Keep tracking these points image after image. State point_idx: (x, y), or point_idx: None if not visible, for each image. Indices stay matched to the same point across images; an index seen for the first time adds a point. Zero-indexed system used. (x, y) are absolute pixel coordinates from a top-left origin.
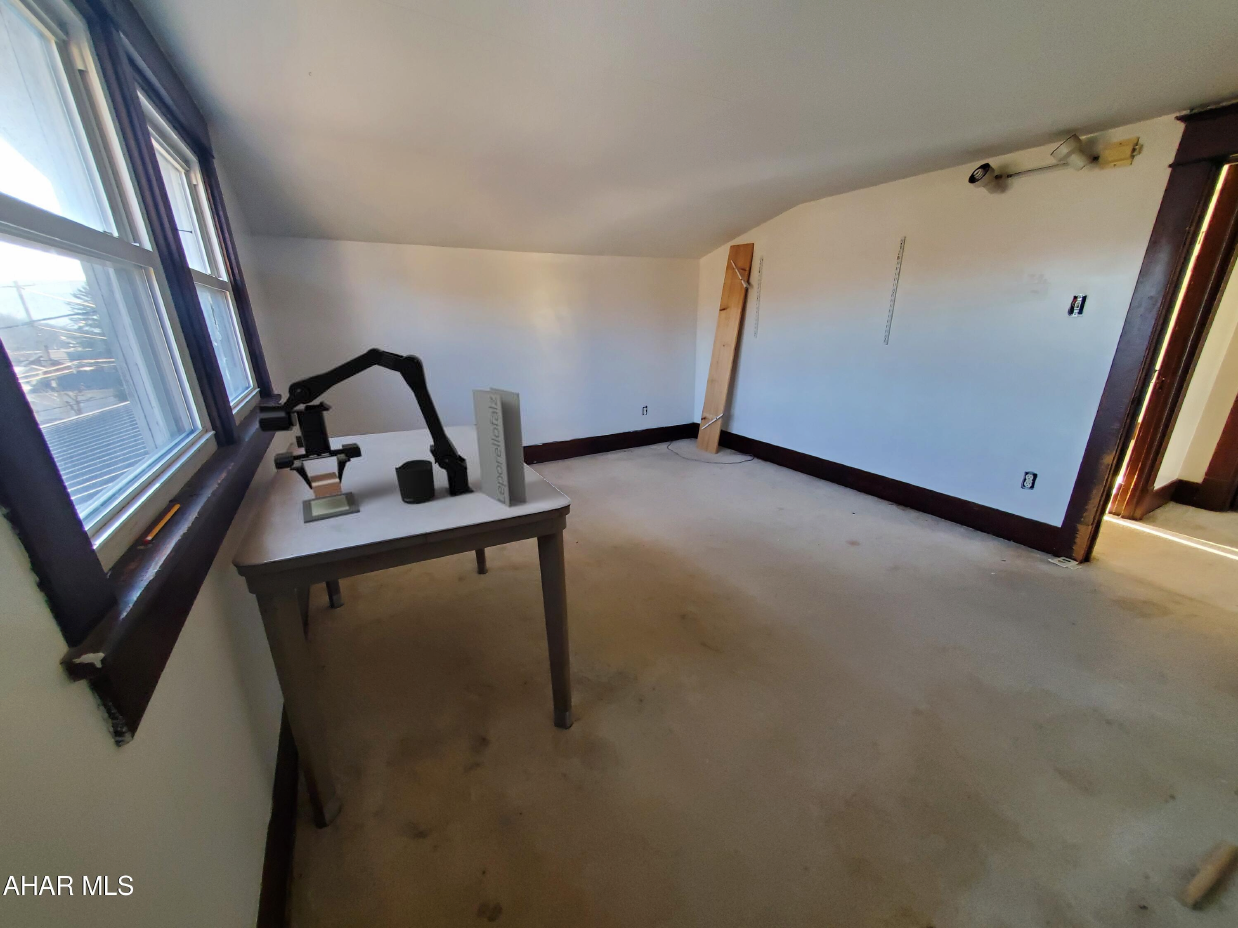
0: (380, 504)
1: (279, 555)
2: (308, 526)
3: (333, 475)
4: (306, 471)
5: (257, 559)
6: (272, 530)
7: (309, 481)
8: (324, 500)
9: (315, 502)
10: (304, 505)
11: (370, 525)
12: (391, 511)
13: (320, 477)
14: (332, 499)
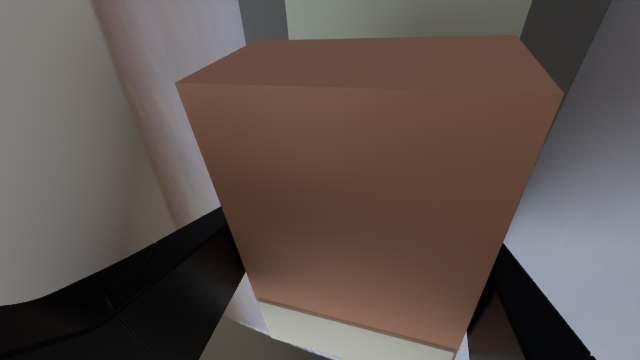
0: (624, 257)
1: (259, 323)
2: None
3: (453, 250)
4: (147, 319)
5: (225, 310)
6: (203, 209)
7: (234, 290)
8: (367, 22)
9: (311, 28)
10: (254, 39)
11: (461, 354)
12: (592, 337)
13: (310, 218)
14: (420, 35)
